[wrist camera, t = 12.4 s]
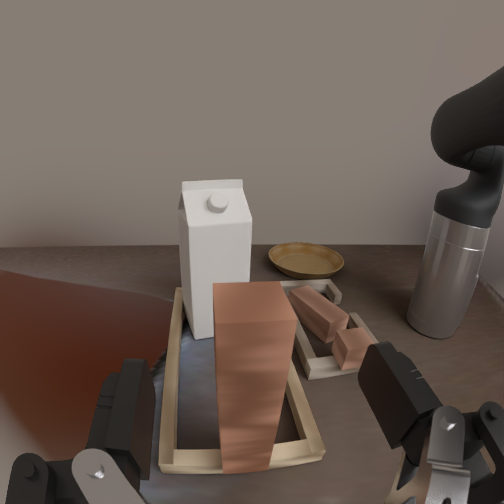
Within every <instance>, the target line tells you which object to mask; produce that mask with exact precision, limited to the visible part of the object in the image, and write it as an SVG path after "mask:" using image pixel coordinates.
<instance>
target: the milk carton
mask: <svg viewBox="0 0 504 504" xmlns="http://www.w3.org/2000/svg"><path fill="white" fill-rule="evenodd" d="M242 184H243V180H242V179H234V180H207V181H186V182H182V193H181V197H180V202H179V206H178V227H179V250H180V268H181V283H182V296H183V308H184V312H185V315H186V318H187V320H188V323H189V326H190V328H191V331H192V334H193V336H194V339H195V340H198V339H204V338H209V337H214V324H213V283H232V282H249V279H250V258H251V236H252V217H251V214H250V211H249V208H248V205H247V201H246V198H245V195H244V192H243V189H242Z"/></svg>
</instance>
